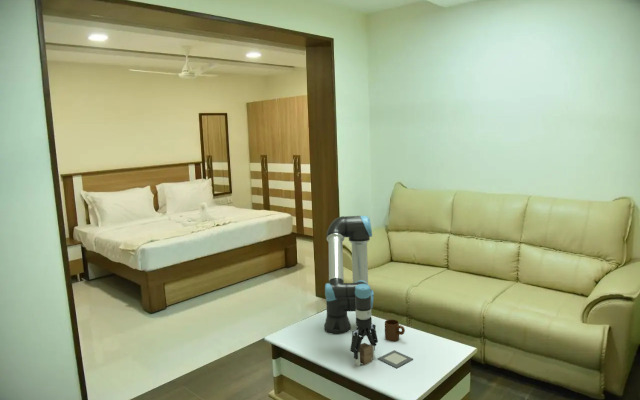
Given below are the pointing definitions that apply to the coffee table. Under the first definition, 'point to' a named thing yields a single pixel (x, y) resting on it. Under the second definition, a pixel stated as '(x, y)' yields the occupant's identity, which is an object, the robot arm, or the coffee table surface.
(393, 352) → the mat
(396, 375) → the coffee table surface
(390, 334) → the mug
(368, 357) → the walnut block
